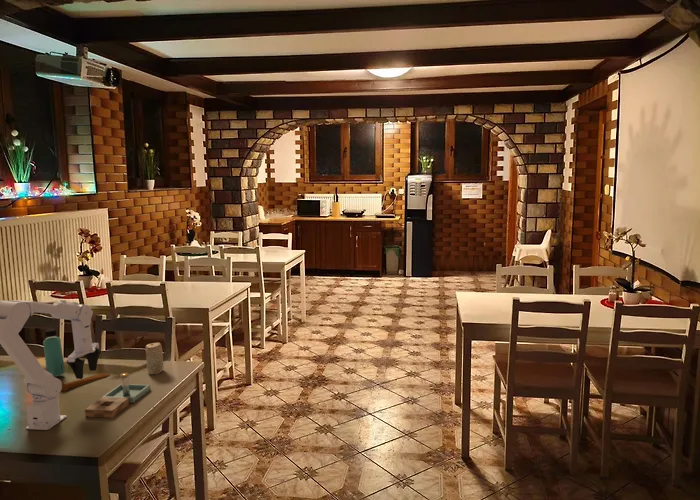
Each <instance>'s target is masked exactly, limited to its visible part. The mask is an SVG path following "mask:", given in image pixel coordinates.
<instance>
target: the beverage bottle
mask: <svg viewBox="0 0 700 500" xmlns="http://www.w3.org/2000/svg"><path fill="white" fill-rule="evenodd" d="M56 335H58V333H57V329H55V328H49V329H46V330H44V336H45V337H46V338H44V340H43V342H42V344H43V351H44V361H45V368H46V369H45V370H46V371H48V372H49V373H51V374H52V375H53V376H54V377H58V376H61V375H63V374H65V372H66V371H65V370H66V369H65V368H66V367H65V361H64V356H63V349H62V348H63V347H62V341H61V338H60V337H59V336H56Z"/></svg>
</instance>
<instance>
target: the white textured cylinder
mask: <svg viewBox="0 0 700 500" xmlns="http://www.w3.org/2000/svg"><path fill="white" fill-rule="evenodd" d="M163 351H164V350H163V346H162V343H160V342H152V343H148V344H146V345H145V355H146V369H147V373H148V374H149V375H152V376H153V375H158V374H160V373H161V372H162V371H163V370H164V357H163V355H164V354H163Z"/></svg>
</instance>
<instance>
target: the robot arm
mask: <svg viewBox="0 0 700 500" xmlns="http://www.w3.org/2000/svg"><path fill="white" fill-rule="evenodd" d="M34 313H39V314H50V316H51V317H52V318H53V319H58V320H69V321H70V322H71V329H72V336H73V337H72V338H73V345H74V346H73V347H74V350H73V352H72V353H71V354H70V355H68V356H67V360H66V364H67V365H68V366H69V367H70V368H71V370H72V372H73V374H74V376H75V379H76V380H80V379H84V365H85V361H87V365H88V369H89V371H90V372H91V371H97V367H98V366H97V365H98V361H99V357H100V355H101V353H102V350H101V349H100V343H99V342H93V340H92V338H93V337H92V331H91V325H92V317H93V314H94V311H93V310H92V308H91V307H90V306H89V305H87V304H78V302H76V301H73V302H67V300H63V299H60V300H59V301H55V302H54V303H46V302H40V301H39V302H38V301H34V300H22V299H21V300H20V299H19V300H17V299H16V300H15V299H13V300H5V299H1V300H0V345H1V347H2V348H3V349H4V351H5V353H6V354H7V355H8V356H9V357H10V358H11V360H12V361H13V363H14V364H15V366H17V368H18V369H19V370H20V372H21V373H22V374H23V376H24V379H23V383H24V385H25V390H26V392H27V393H28V394H29V395H30V397H31V398H32V400H31V401H32V402H31V403H30V404H29V405H28V406H27V408H26V420H27V421H26V422H27V426H26V427H25V429H26V430H38V431H39V430H41V431H42V430H43V431H48V430H50V429H51V428H53V427H54V426H56V425H57V424H59V423H60V422H61V421H63V420H65V419H66V418H67V415H65V414H64V415H63V414H62V415H61V411H60V403H59V396H60V393H61V392H62V391H61V389H62V383H63V382H62V381H61V380H60V379H59V378H57V377H56V376H53V375H52V374H51V373H49V372H48V371H47V370H46V369H45V368H44V367H43V366H42V365H41V364H40V362H39V361H38V359H37V357H36V356H35V355H34V354H33V352H32V351H31V350H30V348H29V347H28V346H27V344H26V342H25V341H24V339H22V337H21V336H20V335H19V333H20V332H21V331H22V329H23V328H24V325H25V324H26V322H27V321H28V319H29V317H32V316H34ZM84 356H85V357H86V359H87V360H85V359H81V358H82V357H84Z"/></svg>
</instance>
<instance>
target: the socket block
mask: <svg viewBox="0 0 700 500" xmlns="http://www.w3.org/2000/svg"><path fill="white" fill-rule="evenodd" d="M128 406H130V403H129V398H115V397H103V396H101V397H100V398H99V399H98V400H96V401H95V402H93V403H91V404H90V405H89V406H88V407H86V408H84V416H85V417H86V418H87V416H88V417H91V418H108V419H109V418H111V419H112V418H114V417H116V415H118V414H120V412H121V411H122V412H123V410H124V409H125V407H126V408H127V407H128Z"/></svg>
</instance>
